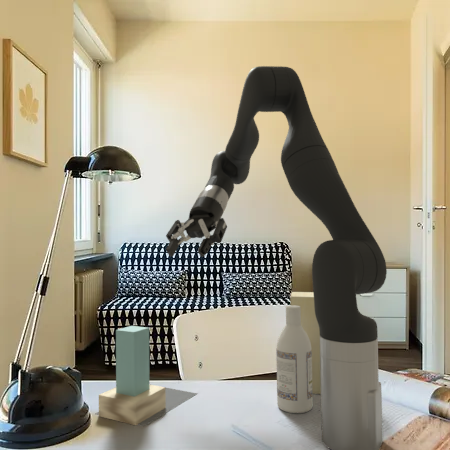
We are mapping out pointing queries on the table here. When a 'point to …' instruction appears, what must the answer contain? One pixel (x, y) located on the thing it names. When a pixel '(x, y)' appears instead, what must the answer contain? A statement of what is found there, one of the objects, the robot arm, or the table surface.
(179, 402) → the mat
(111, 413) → the base block
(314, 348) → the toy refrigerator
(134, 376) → the pillar
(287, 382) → the bath foam
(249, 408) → the table surface
